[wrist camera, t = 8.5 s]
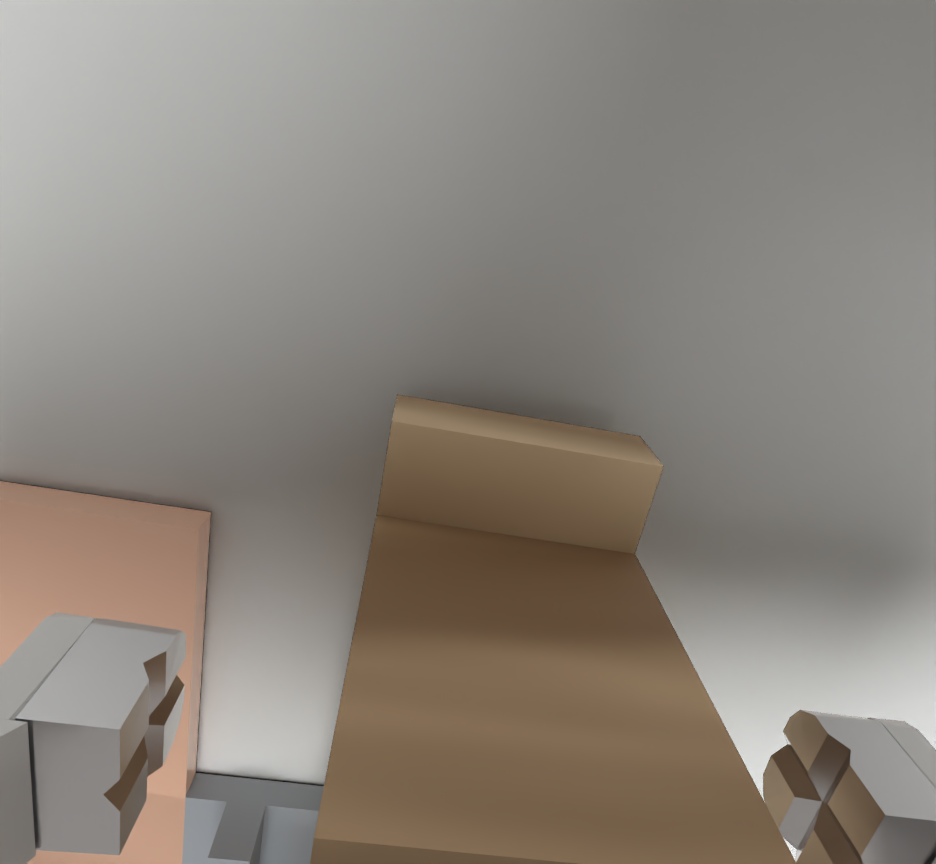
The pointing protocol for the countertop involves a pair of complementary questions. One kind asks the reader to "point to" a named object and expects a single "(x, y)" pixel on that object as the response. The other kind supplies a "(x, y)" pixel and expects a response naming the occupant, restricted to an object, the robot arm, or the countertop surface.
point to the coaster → (113, 614)
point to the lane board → (248, 821)
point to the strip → (524, 666)
